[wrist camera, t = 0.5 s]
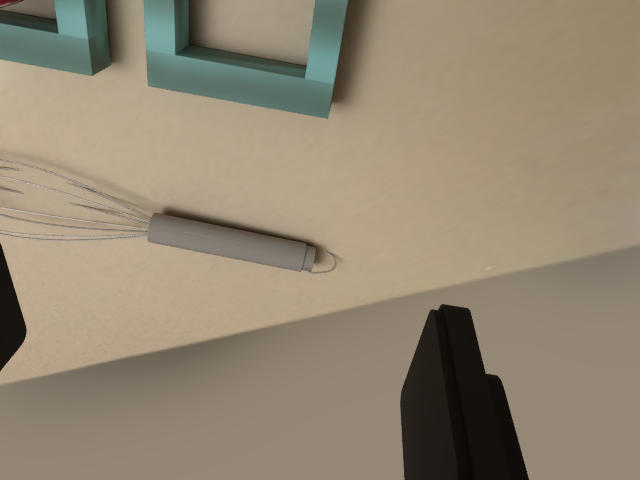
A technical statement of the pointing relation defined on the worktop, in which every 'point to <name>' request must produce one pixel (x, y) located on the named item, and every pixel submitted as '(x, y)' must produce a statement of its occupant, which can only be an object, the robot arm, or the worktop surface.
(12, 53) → the brown and teal tray
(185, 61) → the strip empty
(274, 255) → the kitchen whisk
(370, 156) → the worktop surface
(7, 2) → the soda can
